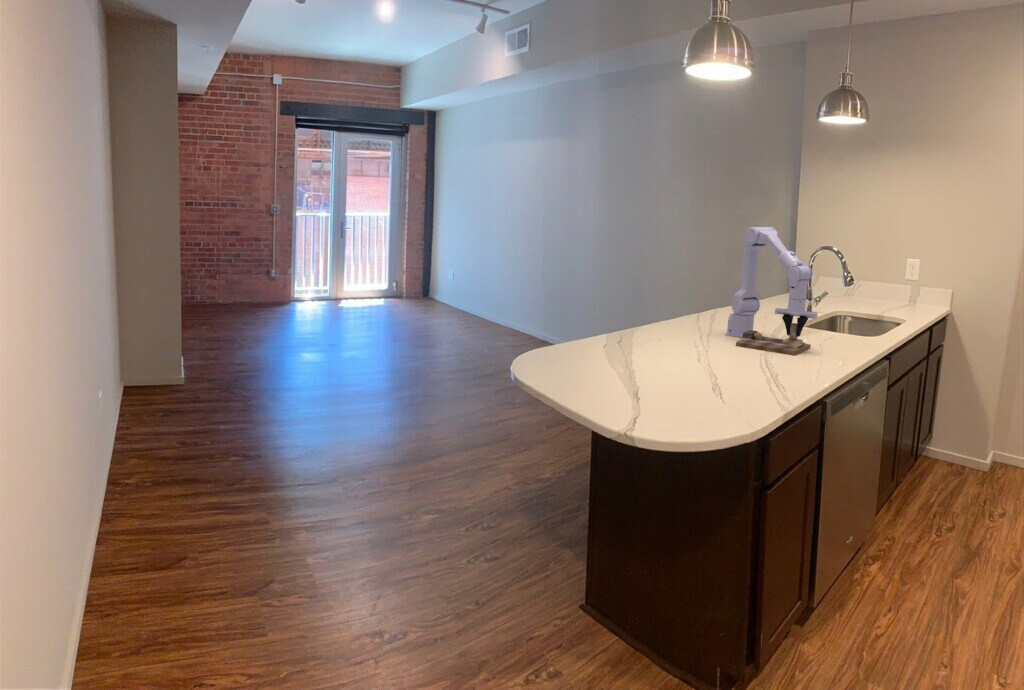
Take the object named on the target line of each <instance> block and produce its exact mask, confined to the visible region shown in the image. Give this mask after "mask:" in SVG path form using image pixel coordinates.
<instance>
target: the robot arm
mask: <svg viewBox="0 0 1024 690" xmlns="http://www.w3.org/2000/svg"><path fill="white" fill-rule="evenodd" d="M778 233H779V232H778V231H777V230H776V229H775V228H774V227H773V226H750V227H749V228H748V229H746V231H745V234H744V244H743V256H742V267H741V268H742V269H741V279H740V280H741V281H740V289H739V290H738V291H736V292H735V293H734V294H733V299H732V301H731V310H732V311H733V312H730V314H729V316H728V319H727V328H726V334H725V336H730V337H737V338H741V339H742V338H743V332H746V331H749V330H753V331H754V324H755V323H754V322H755V315H756V314H757V312H759V310H760V308H761V301H760V295H759V293H758V292H757V291H756V290H755V289H756V282H757V281H756V280H757V270H758V269H757V268H758V260H759V251H760V250H761V249H762V248H763V247H765V246H768V247H769V248H770V249H771V250H772V251H773V252H774V253H775V254H776V255H777V256H778V257H779V258H778V261H779V263H780V264H781V266H782V267H783V268H784V269H785V271H786V272H787V278H788V285H789V294H788V295H789V296H788V305H787V308H778V307H777V308H775V309H774V315H782V316H781V318H782V320H783V323H784V325H785V331H786V336H789V334H790V324H791V323H793V321H794V317H796V323H797V333H796V337H797V338H799V337H801V334H802V331H803V328H804V327H805V325H806V323H807V322H808V320H809V319H815V320H817V318H818V312H812V311H807V310H805V309H806V299H807V291H808V283H809V281H810V280H811V279H812V277H813V269H812V268H811V265H809V264H805V263H803V261H802V260H800V259H799V258H798V256H797V255H796V252H795V251H791V250H788V249H787V248H786V247H785V245H784V244H783V242H782V240H781V239H780V238H779V235H778Z"/></svg>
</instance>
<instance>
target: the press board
mask: <svg viewBox="0 0 1024 690" xmlns="http://www.w3.org/2000/svg"><path fill="white" fill-rule="evenodd" d="M783 340H785V339H783V338H778V337H777V338H776V337H771V336H763V334H762V333H761V332H760V331H758V330H754V329H753V330H749V331H746V332H743V338H742V337H741V340H738V341H735V347H741V348H747V349H752V350H758V351H766V352H772V353H778V354H784V355H790V356H797V355H799V354H801V353H804V352H805V351H808V350H811V344H809V343H806V342H804V341H803V342H802V345H801V346H799V347H797V346H791V345H785V344H783Z"/></svg>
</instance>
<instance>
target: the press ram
mask: <svg viewBox="0 0 1024 690" xmlns="http://www.w3.org/2000/svg"><path fill="white" fill-rule="evenodd" d="M796 333H797V322H796V323H795V322H792V323H791V324H790V334H789V335H788V338H786V339H784V340H783V344H785V345H791V346H797V347H799V346H801V345H802V342H804V341H803V340H804V339H800V338H798V337H796Z"/></svg>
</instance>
